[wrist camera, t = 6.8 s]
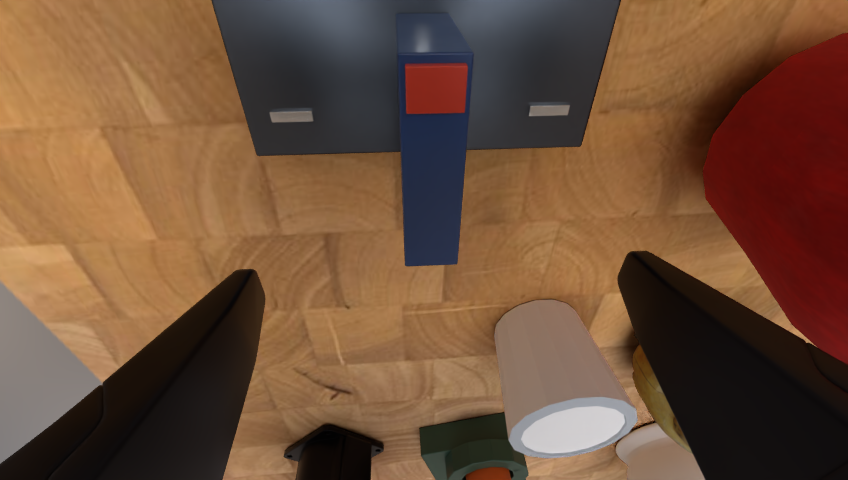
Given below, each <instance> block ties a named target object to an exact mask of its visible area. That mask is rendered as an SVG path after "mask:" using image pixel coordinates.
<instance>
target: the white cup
mask: <svg viewBox="0 0 848 480" xmlns="http://www.w3.org/2000/svg"><path fill="white" fill-rule="evenodd" d="M494 338H495V345H496V352H497V360H498V367H499V374H500V382H501V389H502V397H503V404H504V411H505V419H506V426H507V433H508V440H509V442H510V444H511V445H512V447H513V448H514V450H516V451H518V452H520V453H523V454H525V455H527V456H533V457H541V458H559V457H571V456H575V455H580V454H584V453H588V452H593V451H595V450H598V449H600V448H603V447H605V446H608V445H610V444H613V443H614V442H616V441H617V440H619V439H620V438H622V437H623V436H625V435H626V434H628V433H629V432H630V431H631V429H632V428H633V426H634V425H635V423H636V422H637V413H636V408H635V407H634V405H633V404H632V402H631V400H630V399H629V397H628V395H627V394H626V392H625V390H624V389H623V387H622V386H621V384H620V382H619V381H618V379H617V377H616V376H615V374H614V373H613V371H612V369H611V368H610V366H609V364H608V363H607V361H606V359H605V358H604V356H603V355H602V353H601V351H600V350H599V348H598V346H597V345H596V343H595V342H594V340H593V338H592V337H591V335H590V333H589V332H588V330H587V328H586V327H585V325H584V324H583V322H582V320H581V319H580V317H579V315H578V314H577V312H576V311H575V310H574V309H573V308H572V307H571V306H569V305H568V304H567V303H564V302H560V301H556V300H553V299H551V300H534V301H531V302H528V303H525V304H521V305H518V306H517V307H515V308H513V309H512V310H510V311H509V312H507V313H505V314H504V315H503V317H502V318H501V319H500V320H499V322H498V323H497V324H496V328H495V333H494Z"/></svg>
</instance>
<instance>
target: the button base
mask: <svg viewBox="0 0 848 480" xmlns="http://www.w3.org/2000/svg"><path fill="white" fill-rule="evenodd" d="M420 446H421V456H422V458H423V459H424V461H425V463H426V464H427V466H428V468H429V469H430V471H431V472H432V474H433V476H434V477H435V479H436V480H466V474H468V473H470V472H473V471H475V470H477V469H483V468H489V467H504V468H506V469H509V472H510V477H511V480H526V477H527V476H528V470H527V465H526V461H525V457H524V454H523V453H520V452H518V451H516V450H514V448H513V447H512V445H511V444H510V442H509V440H508V433H507V426H506V419H505V413H500V414H494V415H489V416H484V417H478V418H473V419H467V420H462V421H456V422H451V423H445V424H440V425H434V426H429V427H424V428H420Z"/></svg>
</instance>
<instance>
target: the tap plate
mask: <svg viewBox="0 0 848 480" xmlns="http://www.w3.org/2000/svg"><path fill="white" fill-rule="evenodd" d="M211 1H212V4H213V8H214V11H215V14H216V18H217V21H218V25H219V28H220V31H221V35H222V38H223V42H224V45H225V48H226V52H227V55H228V59H229V62H230V65H231V69H232V72H233V76H234V79H235V83H236V86H237V89H238V93H239V96H240V100H241V103H242V106H243V110H244V113H245V117H246V120H247V123H248V127H249V130H250V134H251V137H252V141H253V144H254V147H255V151H256V154H257V156H272V155H307V154H342V153H376V152H401V151H400V123H399V96H398V68H397V41H396V14H400V13H449V14H450V16H451V17H452V19H453V21H454V22H455V24H456V25H457V27H458V29H459V30H460V32H461V33H462V35H463V37H464V38H465V40H466V41H467V43H468V45H469V46H470V48H471V49H472V51H473V53H474V59H473V72H472V85H471V97H470V110H469V123H468V136H467V149H466V150H481V149H515V148H550V147H580V146H581V145H582V141H583V137H584V134H585V130H586V126H587V123H588V119H589V115H590V112H591V108H592V104H593V101H594V97H595V93H596V90H597V86H598V82H599V79H600V75H601V71H602V68H603V64H604V60H605V57H606V53H607V49H608V46H609V42H610V38H611V35H612V31H613V27H614V24H615V20H616V16H617V13H618V9H619V5H620V2H621V0H211Z"/></svg>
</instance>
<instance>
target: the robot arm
mask: <svg viewBox="0 0 848 480" xmlns="http://www.w3.org/2000/svg"><path fill="white" fill-rule="evenodd" d="M618 286H619V289H620V291H621V294H622V297H623V300H624V303H625V306H626V309H627V311H628V314H629V317H630V320H631V323H632V326H633V328H634V331H635V334H636V336H637V339H638V341H639V343H640V345H641V348H642V350H643V352H644V354H645V356H646V358H647V360H648V362H649V364H650V366H651V368H652V370H653V373H654V375H655V377H656V379H657V381H658V383H659V385H660V387H661V389H662V391H663V393H664V395H665V397H666V400H667V402H668V404H669V406H670V408H671V410H672V412H673V414H674V416H675V418H676V420H677V422H678V424H679V427H680V429H681V431H682V433H683V435H684V437H685V439H686V441H687V443H688V445H689V447H690V449H691V451H692V454H693V456H694V458H695V460H696V462H697V464H698V466H699V468H700V470H701V472H702V474H703V476H704V478H705V480H848V364H846V363H844V362H842V361H840V360H839V359H837V358H835V357H833V356H831V355H830V354H828V353H826V352H824V351H823V350H821V349H819V348H817V347H816V346H814V345H812V344H810V343H806V342H805V340H803V339H801V338H800V337H798V336H796V335H794V334H793V333H791V332H789V331H787V330H786V329H784V328H782V327H780V326H779V325H777V324H775V323H773V322H772V321H770V320H768V319H766V318H764V317H763V316H761V315H759V314H757V313H756V312H754V311H752V310H750V309H749V308H747V307H745V306H743V305H742V304H740V303H738V302H736V301H735V300H733V299H731V298H729V297H728V296H726V295H724V294H722V293H720V292H719V291H717V290H715V289H713V288H712V287H710V286H708V285H706V284H705V283H703V282H701V281H699V280H698V279H696V278H694V277H692V276H691V275H689V274H687V273H685V272H684V271H682V270H680V269H678V268H677V267H675V266H673V265H671V264H669V263H668V262H666V261H664V260H662V259H661V258H659V257H657V256H655V255H654V254H652V253H650V252H648V251H631V252H629V253H628V254H627V255H626V258H625V260H624V262H623V265H622V267H621V269H620V272H619V274H618ZM264 307H265V293H264V290H263V287H262V285H261V282H260V279H259V277H258V274H257V272H256V271H255V270H254V269H240V270H236V271H234V272H233V273H232V274H231V275H229V276H228V277H227V278H226V279H225V280H223V281H222V282H221V283H220V284H219V285H218V286H216V287H215V288H214V289H213V290H212V291H210V292H209V293H208V294H207V295H206V296H205V297H203V298H202V299H201V300H200V301H199V302H197V303H196V304H195V305H194V306H193V307H191V308H190V309H189V310H188V311H187V312H186V313H184V314H183V315H182V316H181V317H180V318H178V319H177V320H176V321H175V322H174V323H173V324H171V325H170V326H169V327H168V328H167V329H165V330H164V331H163V332H162V333H161V334H160V335H158V336H157V337H156V338H155V339H154V340H152V341H151V342H150V343H149V344H148V345H147V346H145V347H144V348H143V349H142V350H141V351H139V352H138V353H137V354H136V355H135V356H134V357H132V358H131V359H130V360H129V361H128V362H126V363H125V364H124V365H123V366H122V367H121V368H119V369H118V370H117V371H116V372H115V373H113V374H112V375H111V376H110V377H109V378H108V379H106V380H105V381H104V382H103V386H102V385H100V386H98V387H97V388H95V389H94V390H93V391H92V392H91V393H90V394H88V395H87V396H86V397H85V398H84V399H82V400H81V401H80V402H79V403H78V404H76V405H75V406H74V407H73V408H72V409H70V410H69V411H68V412H67V413H66V414H64V415H63V416H62V417H61V418H59V419H58V420H57V421H56V422H54V423H53V424H52V425H51V426H49V427H48V428H47V429H45V430H44V431H43V432H42V433H40V434H39V435H38V436H36V437H35V438H34V439H32V440H31V441H30V442H28V443H27V444H26V445H25V446H23V447H22V448H21V449H19V450H18V451H17V452H15V453H14V454H13V455H12V456H10V457H9V458H7V459H6V460H5V461H3V462H2V463H1V464H0V480H222V479H223V476H224V472H225V469H226V465H227V462H228V458H229V454H230V451H231V447H232V444H233V440H234V437H235V433H236V430H237V426H238V423H239V419H240V416H241V412H242V409H243V405H244V402H245V398H246V395H247V391H248V387H249V384H250V380H251V377H252V373H253V370H254V366H255V362H256V357H257V351H258V345H259V339H260V332H261V326H262V320H263V313H264ZM383 450H384V445H383V444H381V443H378V442H376V441H373V440H370V439H367V438H364V437H362V436H359V435H356V434H353V433H350V432H348V431H345V430H342V429H339V428H336V427H334V426H330V425H325V426H323V427H321V428H320V429H318V430H316V431H315V432H313V433H312V434H310V435H309V436H307V437H305V438H304V439H302V440H301V441H299V442H298V443H296V444H295V445H293V446H291V447H290V448H288V449H287V450H285V453H284V457H285V458H287V459H291V460H294V461H298V468H297V474H296V480H371V458H372V457H374V456H375V455H377V454H379V453H381V452H383Z"/></svg>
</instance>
